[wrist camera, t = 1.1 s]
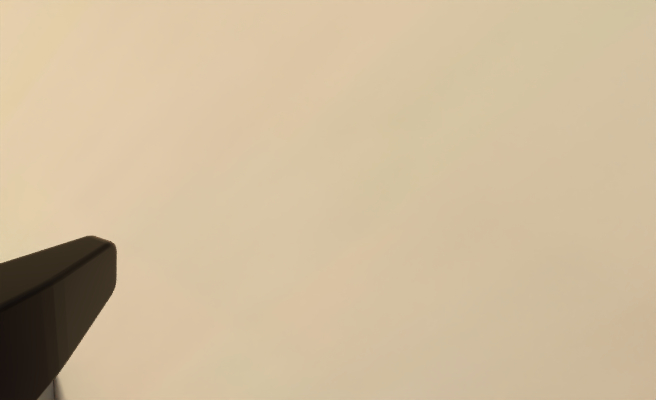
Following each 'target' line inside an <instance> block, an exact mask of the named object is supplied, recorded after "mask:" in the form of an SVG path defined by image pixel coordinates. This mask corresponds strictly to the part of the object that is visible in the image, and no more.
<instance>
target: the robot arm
mask: <svg viewBox="0 0 656 400" xmlns="http://www.w3.org/2000/svg"><path fill="white" fill-rule="evenodd" d="M116 271H117V250H116V246H115V244H114V243H112V242H111V241H108V240H105V239H102V238H99V237H96V236H86V237H82V238H79V239H76V240H73V241H70V242H67V243H63V244H60V245H57V246H54V247H51V248H48V249H44V250H41V251H38V252H35V253H32V254H29V255H25V256H22V257H19V258H16V259H13V260H10V261H6V262H3V263H0V400H37V399H38V398H39V397H40V396H41V395H42V393H43V392H44V391H45V390H46V389H47V387H48V386H49V385H50V384H51V382H52V381H53V380H54V379H55V377H56V376H57V375H58V374H59V372H60V371H61V369H62V368H63V367H64V365H65V364H66V362H67V361H68V360H69V358H70V357H71V355H72V354H73V352H74V351H75V349H76V348H77V346H78V345H79V343H80V342H81V340H82V339H83V337H84V336H85V334H86V333H87V331H88V330H89V328H90V327H91V325H92V324H93V322H94V321H95V319H96V318H97V316H98V315H99V313H100V312H101V310H102V309H103V307H104V306H105V304H106V303H107V301H108V300H109V298H110V297H111V295H112V293H113V291H114V288H115V285H116Z"/></svg>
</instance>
